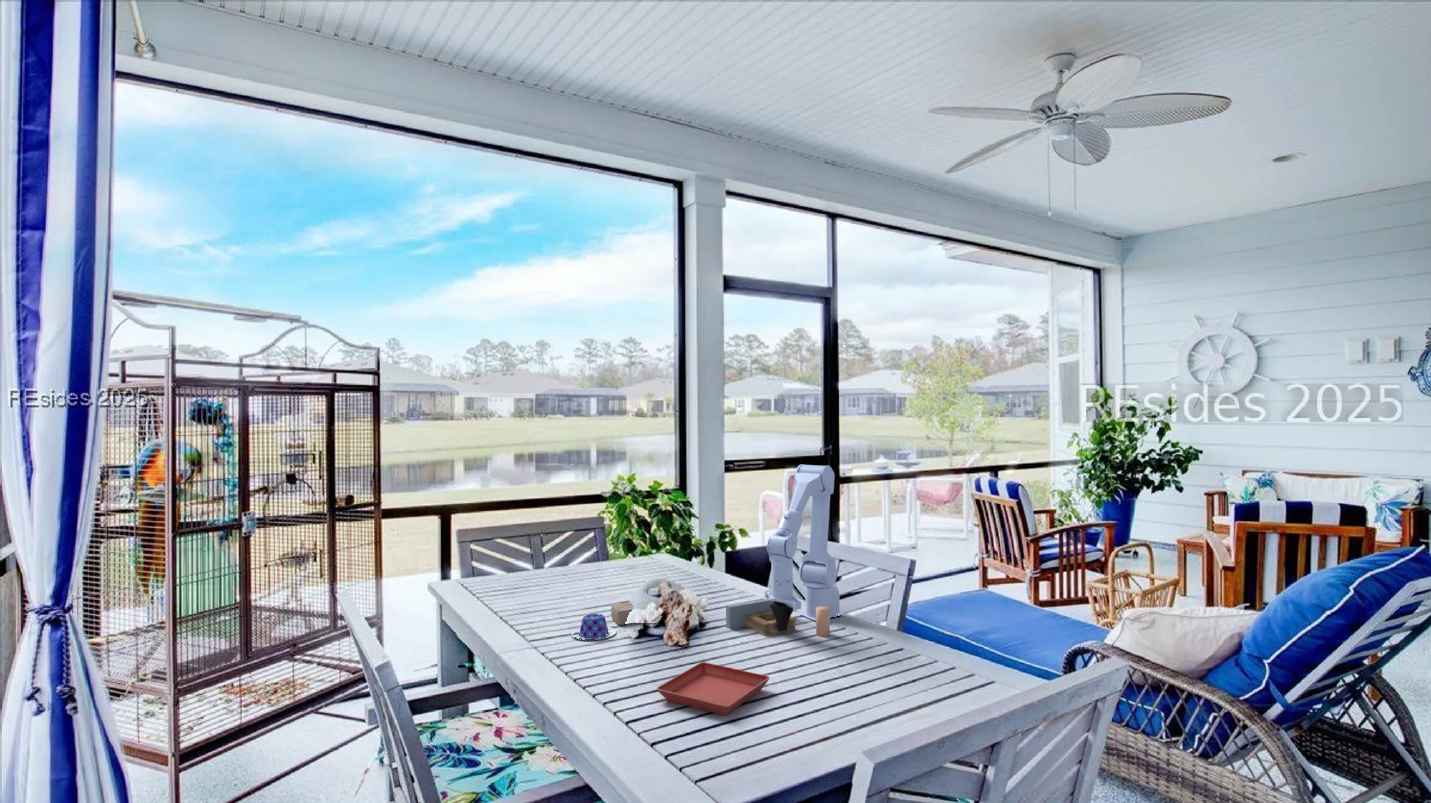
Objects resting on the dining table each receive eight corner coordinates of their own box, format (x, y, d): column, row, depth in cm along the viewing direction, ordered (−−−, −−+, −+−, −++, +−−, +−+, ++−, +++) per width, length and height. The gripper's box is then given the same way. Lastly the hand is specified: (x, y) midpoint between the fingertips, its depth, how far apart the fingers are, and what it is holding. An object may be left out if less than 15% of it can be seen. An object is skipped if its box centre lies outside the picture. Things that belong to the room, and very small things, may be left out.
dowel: (824, 631, 200) (824, 605, 200) (832, 635, 197) (832, 609, 197) (813, 633, 199) (813, 607, 199) (821, 637, 195) (821, 611, 195)
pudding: (592, 645, 192) (592, 625, 192) (562, 637, 199) (561, 617, 199) (625, 634, 201) (625, 614, 201) (595, 626, 209) (594, 607, 209)
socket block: (775, 620, 211) (774, 610, 211) (795, 629, 202) (795, 618, 202) (745, 626, 206) (745, 615, 206) (764, 635, 197) (764, 624, 197)
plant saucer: (728, 722, 145) (728, 705, 145) (654, 703, 155) (654, 687, 155) (771, 691, 161) (771, 676, 161) (702, 675, 170) (702, 661, 170)
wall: (785, 616, 215) (785, 595, 215) (789, 617, 213) (789, 597, 213) (726, 627, 205) (726, 605, 205) (729, 628, 204) (729, 607, 204)
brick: (664, 612, 221) (664, 596, 221) (673, 619, 214) (673, 603, 214) (610, 619, 215) (610, 603, 215) (617, 627, 207) (617, 610, 207)
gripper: (755, 576, 203) (755, 625, 203) (785, 587, 190) (785, 640, 190) (776, 572, 207) (777, 621, 206) (807, 583, 194) (807, 635, 194)
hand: (782, 630), depth 199 cm, fingers closed
